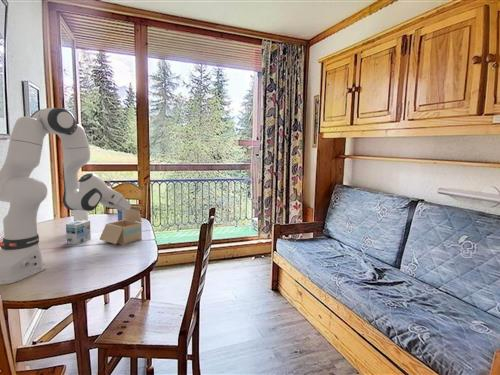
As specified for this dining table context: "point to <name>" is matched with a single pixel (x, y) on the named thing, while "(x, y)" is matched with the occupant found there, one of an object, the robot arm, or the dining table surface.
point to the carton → (122, 232)
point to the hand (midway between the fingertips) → (123, 211)
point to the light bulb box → (78, 232)
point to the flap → (133, 214)
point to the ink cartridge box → (121, 216)
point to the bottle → (80, 213)
